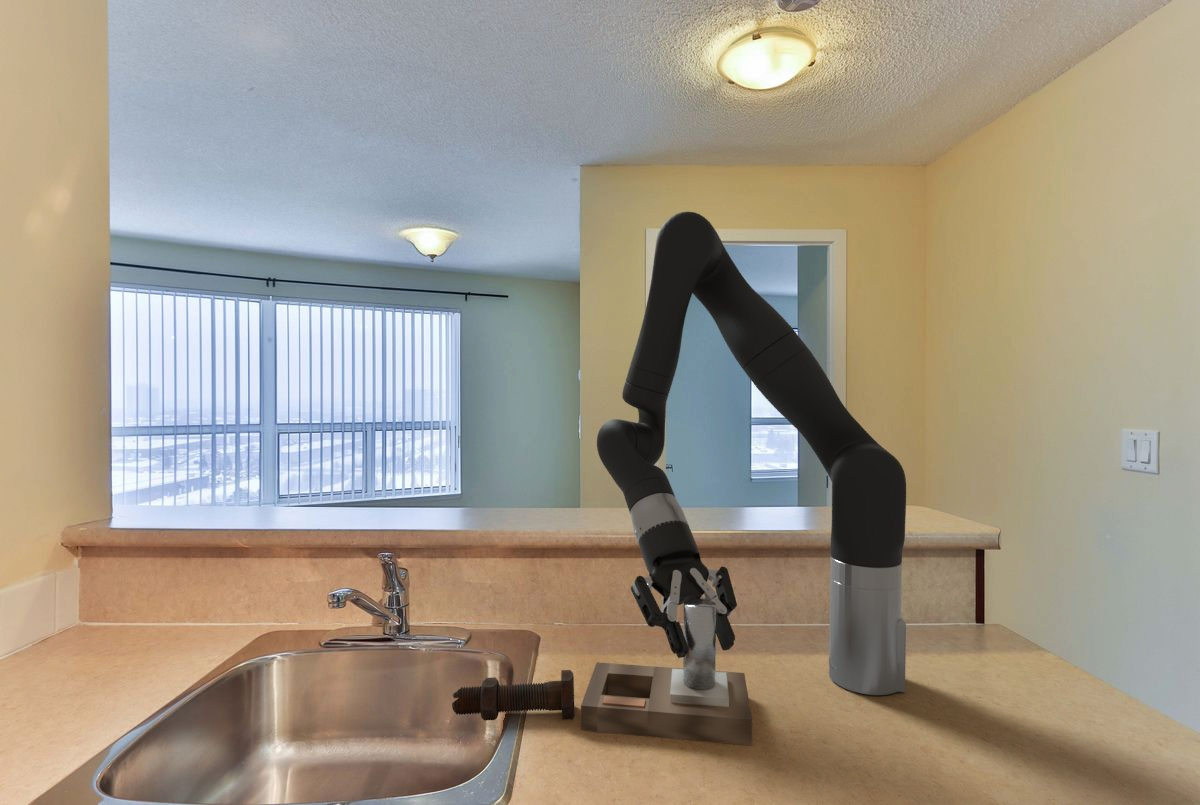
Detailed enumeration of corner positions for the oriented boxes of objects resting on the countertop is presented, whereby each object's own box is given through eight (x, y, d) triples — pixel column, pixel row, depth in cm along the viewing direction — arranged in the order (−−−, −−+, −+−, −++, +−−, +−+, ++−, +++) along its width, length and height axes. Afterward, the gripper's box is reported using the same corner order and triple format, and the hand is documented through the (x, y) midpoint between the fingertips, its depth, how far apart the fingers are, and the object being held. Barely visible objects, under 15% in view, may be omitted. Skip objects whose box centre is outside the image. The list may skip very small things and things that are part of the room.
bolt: (456, 727, 79) (575, 720, 80) (448, 726, 75) (574, 719, 75) (458, 677, 82) (573, 671, 83) (451, 673, 77) (573, 667, 78)
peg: (714, 676, 80) (715, 599, 80) (715, 691, 76) (716, 610, 76) (683, 674, 81) (684, 597, 81) (682, 689, 77) (683, 608, 77)
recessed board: (744, 695, 84) (744, 665, 84) (752, 745, 72) (752, 711, 72) (596, 683, 87) (596, 655, 87) (580, 730, 75) (580, 697, 75)
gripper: (623, 522, 82) (664, 646, 72) (717, 515, 88) (769, 629, 77) (608, 552, 88) (644, 673, 77) (698, 543, 93) (743, 655, 82)
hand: (706, 650), depth 77 cm, fingers open, 5 cm apart
